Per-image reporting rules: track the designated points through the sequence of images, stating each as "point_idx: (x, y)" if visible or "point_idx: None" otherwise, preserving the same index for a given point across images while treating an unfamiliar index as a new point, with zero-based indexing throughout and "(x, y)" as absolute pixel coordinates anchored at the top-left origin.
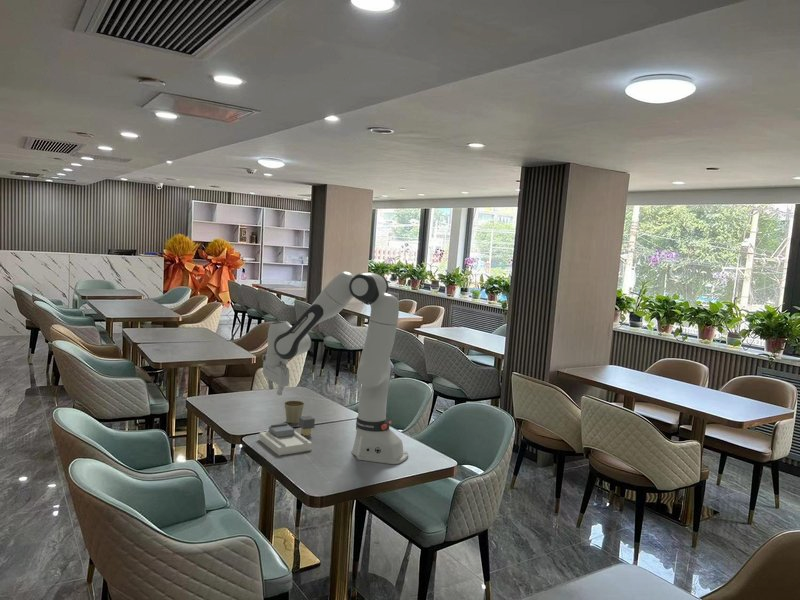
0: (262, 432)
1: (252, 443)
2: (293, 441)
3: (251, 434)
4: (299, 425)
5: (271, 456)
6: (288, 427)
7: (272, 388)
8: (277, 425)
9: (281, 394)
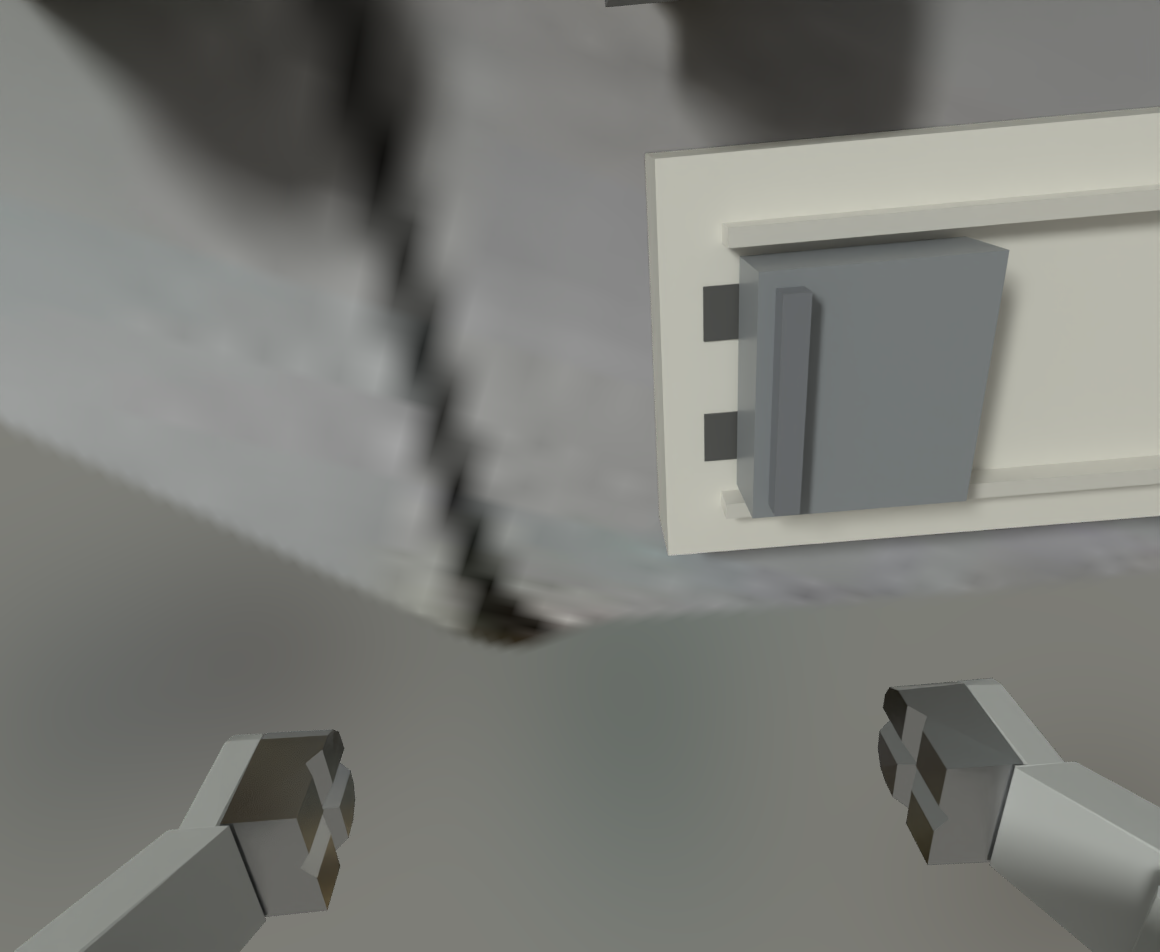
0: (679, 529)
1: (733, 588)
2: (1135, 313)
3: (481, 539)
4: (643, 1)
5: (1119, 534)
6: (899, 304)
7: (330, 760)
8: (802, 435)
9: (997, 692)
